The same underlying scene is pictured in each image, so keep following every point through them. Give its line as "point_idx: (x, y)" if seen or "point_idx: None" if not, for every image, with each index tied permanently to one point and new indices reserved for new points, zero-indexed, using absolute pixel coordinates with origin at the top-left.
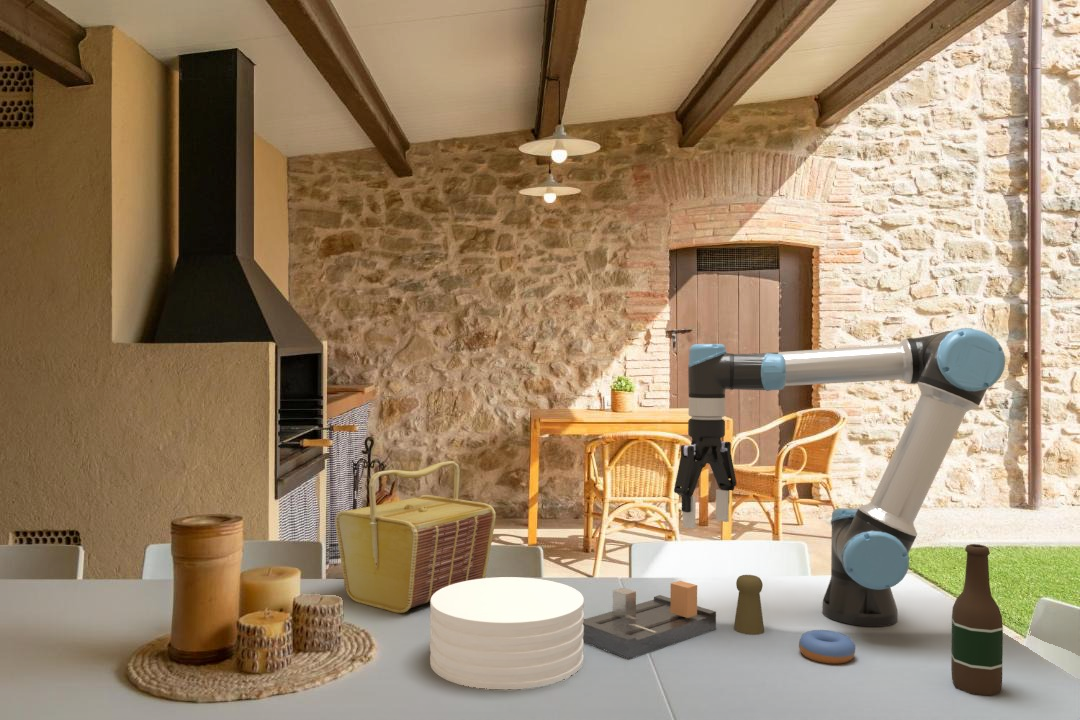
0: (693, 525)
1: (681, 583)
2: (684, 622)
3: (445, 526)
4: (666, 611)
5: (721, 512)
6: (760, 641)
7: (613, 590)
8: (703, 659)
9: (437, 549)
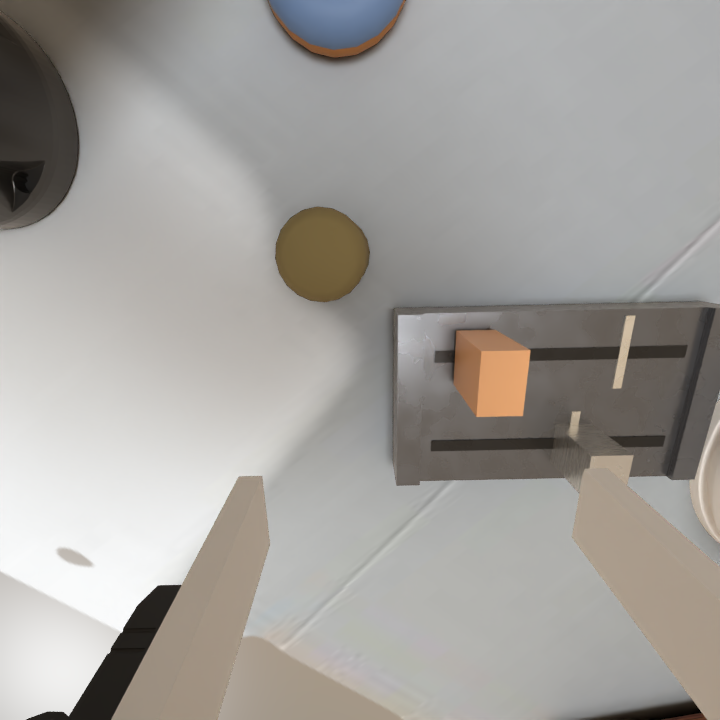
0: (617, 482)
1: (500, 394)
2: (511, 322)
3: None
4: None
5: (251, 552)
6: (381, 179)
7: None
8: (590, 191)
9: None
